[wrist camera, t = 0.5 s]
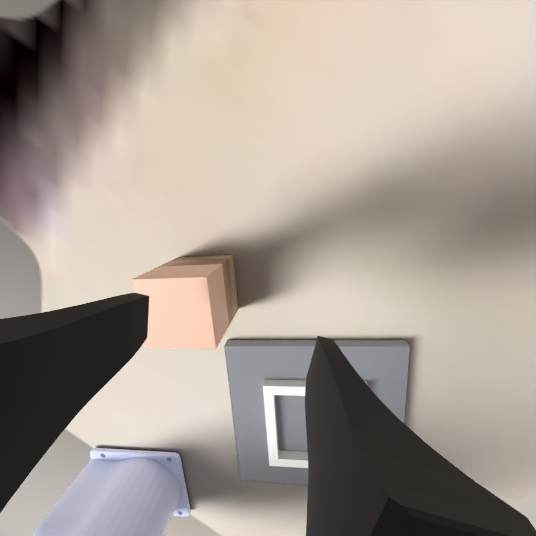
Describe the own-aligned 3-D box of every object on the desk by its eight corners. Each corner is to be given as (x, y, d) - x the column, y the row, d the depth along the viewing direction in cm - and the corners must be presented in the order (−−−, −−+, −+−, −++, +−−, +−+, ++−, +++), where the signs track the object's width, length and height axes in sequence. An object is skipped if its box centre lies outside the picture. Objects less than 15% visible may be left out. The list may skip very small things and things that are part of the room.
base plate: (242, 470, 25) (238, 489, 24) (227, 339, 22) (221, 351, 20) (394, 479, 24) (402, 501, 22) (404, 339, 20) (414, 352, 18)
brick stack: (186, 309, 22) (146, 348, 16) (178, 257, 21) (131, 279, 15) (238, 308, 21) (215, 348, 15) (233, 254, 20) (206, 276, 14)
